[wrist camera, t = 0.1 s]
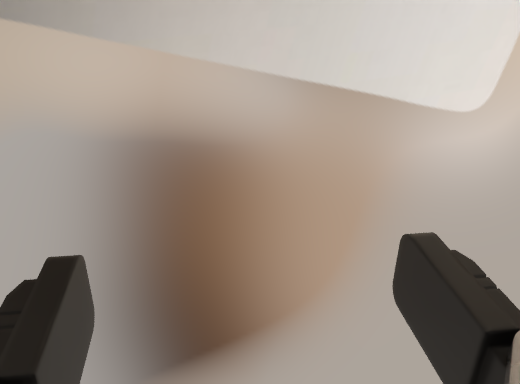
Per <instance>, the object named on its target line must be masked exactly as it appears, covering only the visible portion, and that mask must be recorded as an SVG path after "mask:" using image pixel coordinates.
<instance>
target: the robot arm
mask: <svg viewBox="0 0 520 384" xmlns="http://www.w3.org/2000/svg"><path fill="white" fill-rule="evenodd" d="M393 294H394V299H395V302H396V304H397V306H398V308H399V310H400V312H401V313H402V315H403V317H404V318H405V320H406V322H407V323H408V325H409V327H410V328H411V330H412V332H413V333H414V335H415V337H416V338H417V340H418V342H419V343H420V345H421V347H422V348H423V350H424V352H425V354H426V355H427V357H428V359H429V360H430V362H431V363H432V365H433V367H434V369H435V370H436V372H437V374H438V375H439V377H440V379H441V380H442V382H443V384H520V310H519V309H518V308H517V307H516V306H515V305H514V304H513V303H512V302H511V301H510V300H509V299H508V297H506V295H505V294H504V293H503V292H502V291H501V290H500V289H497V287H496V285H495V284H494V283H493V282H492V281H491V279H490V278H488V277H486V274H485V273H484V272H483V271H482V270H481V269H480V267H479V266H478V265H477V264H476V263H475V262H473V261H472V260H471V259H469V258H467V257H466V256H464V255H463V254H461V253H459V252H458V251H456V250H450V249H449V248H448V247H447V246H446V245H445V244H444V242H443V241H442V240H441V239H440V238H439V237H438V236H437V235H436V234H435V233H432V232H431V233H418V234H405V235H403V236H402V238H401V240H400V245H399V251H398V257H397V262H396V267H395V273H394V279H393ZM93 328H94V305H93V300H92V295H91V289H90V284H89V279H88V275H87V270H86V264H85V260H84V258H83V256H82V255H74V256H61V257H60V256H59V257H48V258H47V259H46V261H45V263H44V265H43V268H42V270H41V272H40V274H39V276H38V278H37V279H34V280H24V281H23V282H22V283H21V284H19V285H18V286H17V287H16V288H15V289H14V290H13V291H12V292H10V293H9V294H8V295H7V296H6V298H5V300H4V302H3V304H2V305H1V307H0V384H80V380H81V376H82V372H83V368H84V364H85V360H86V357H87V353H88V349H89V345H90V341H91V337H92V333H93Z"/></svg>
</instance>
